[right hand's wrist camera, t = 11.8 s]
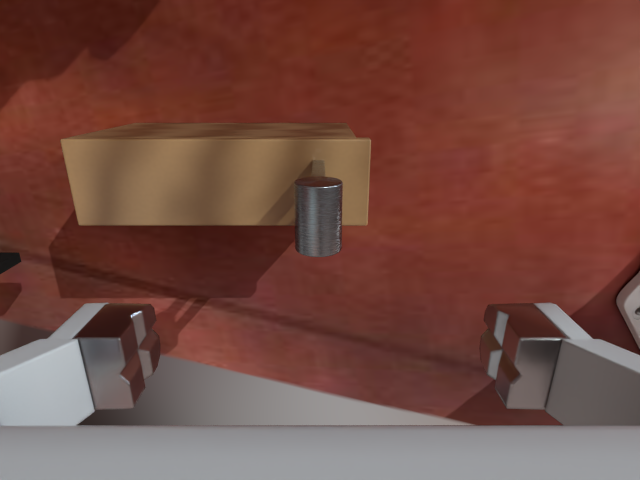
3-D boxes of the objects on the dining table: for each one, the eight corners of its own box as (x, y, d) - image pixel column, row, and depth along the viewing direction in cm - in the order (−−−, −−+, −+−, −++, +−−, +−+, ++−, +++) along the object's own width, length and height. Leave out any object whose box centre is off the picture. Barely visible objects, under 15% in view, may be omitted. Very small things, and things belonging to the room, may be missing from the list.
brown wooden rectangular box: (346, 123, 34) (356, 137, 25) (345, 186, 36) (354, 221, 27) (134, 122, 34) (67, 137, 25) (144, 186, 36) (85, 221, 27)
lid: (369, 137, 25) (392, 162, 17) (366, 221, 27) (385, 278, 19) (67, 137, 25) (-47, 162, 17) (85, 221, 27) (-11, 278, 19)
